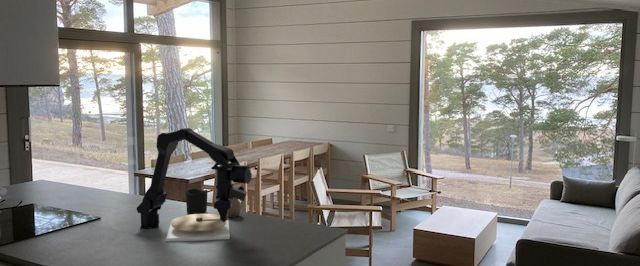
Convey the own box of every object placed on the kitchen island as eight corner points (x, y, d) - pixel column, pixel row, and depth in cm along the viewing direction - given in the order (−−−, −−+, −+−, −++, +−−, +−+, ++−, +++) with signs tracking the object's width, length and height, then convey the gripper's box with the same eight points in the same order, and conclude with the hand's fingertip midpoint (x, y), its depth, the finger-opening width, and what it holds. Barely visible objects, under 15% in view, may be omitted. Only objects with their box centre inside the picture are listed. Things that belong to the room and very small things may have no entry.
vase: (238, 218, 226) (238, 198, 225) (223, 217, 227) (223, 197, 226) (243, 214, 232) (243, 195, 231) (229, 213, 234) (229, 194, 233)
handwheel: (169, 236, 193) (169, 215, 192) (173, 221, 213) (173, 202, 213) (228, 234, 197) (228, 213, 196) (227, 219, 218) (227, 201, 217)
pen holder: (203, 209, 241) (203, 187, 240) (210, 213, 233) (210, 191, 232) (183, 211, 236) (183, 189, 235) (190, 216, 228) (189, 193, 227)
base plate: (166, 241, 192) (166, 238, 192) (171, 224, 214) (171, 221, 214) (229, 239, 196) (229, 235, 196) (228, 222, 219) (228, 219, 219)
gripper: (244, 186, 190) (244, 228, 191) (246, 176, 208) (246, 215, 210) (213, 186, 189) (213, 228, 190) (217, 176, 207) (217, 215, 209)
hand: (224, 221), depth 200 cm, fingers closed
